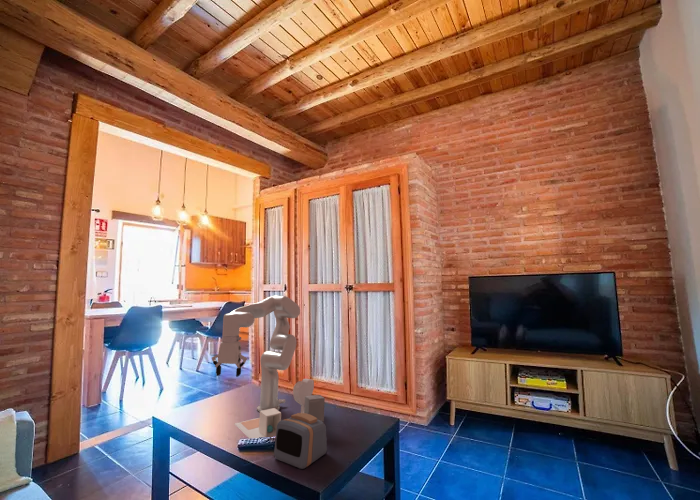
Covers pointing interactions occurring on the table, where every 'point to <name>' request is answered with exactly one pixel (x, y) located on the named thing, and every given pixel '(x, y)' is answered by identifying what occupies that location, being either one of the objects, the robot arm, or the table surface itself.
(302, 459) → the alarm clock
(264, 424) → the cream rectangular block
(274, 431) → the mat
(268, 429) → the marble
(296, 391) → the heart sculpture
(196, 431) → the table surface
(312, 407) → the skincare box
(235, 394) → the table surface
